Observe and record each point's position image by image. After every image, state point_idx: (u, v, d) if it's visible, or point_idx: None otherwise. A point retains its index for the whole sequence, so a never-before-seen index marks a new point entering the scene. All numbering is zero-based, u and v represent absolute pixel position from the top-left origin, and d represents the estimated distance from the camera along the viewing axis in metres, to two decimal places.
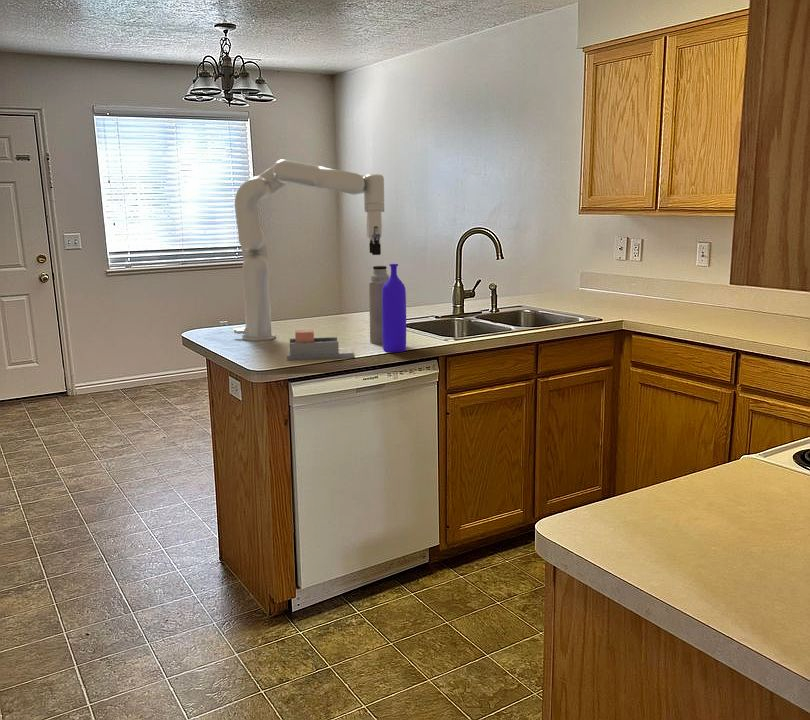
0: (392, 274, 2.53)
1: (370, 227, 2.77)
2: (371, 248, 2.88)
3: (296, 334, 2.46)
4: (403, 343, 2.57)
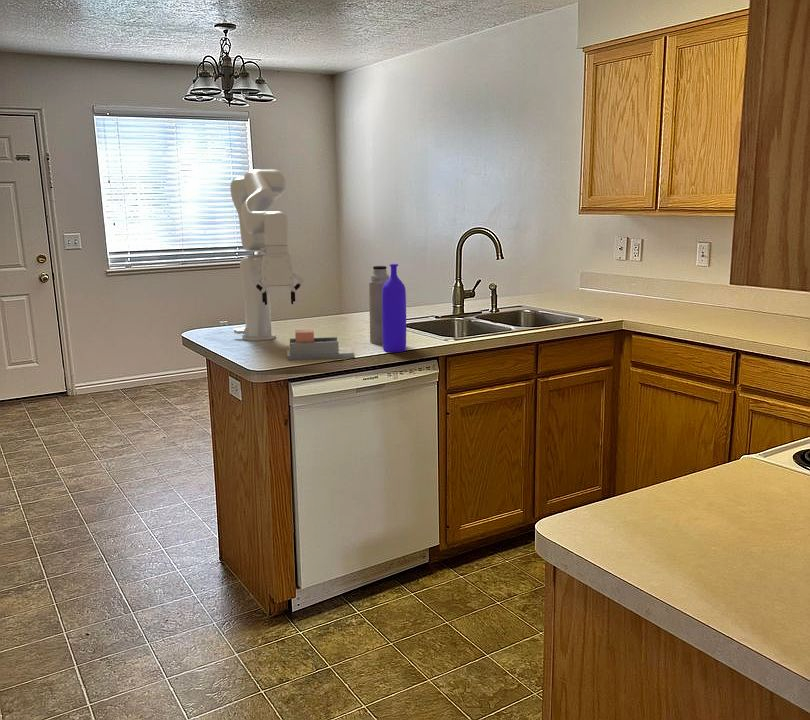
0: (392, 274, 2.53)
1: (292, 272, 2.42)
2: (266, 299, 2.44)
3: (296, 334, 2.46)
4: (403, 343, 2.57)
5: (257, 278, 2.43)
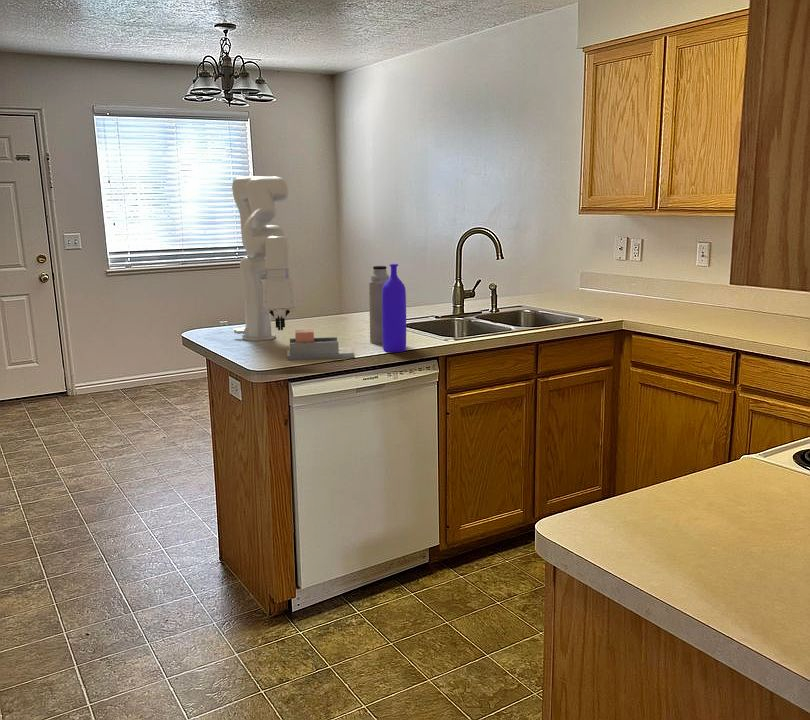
0: (392, 274, 2.53)
1: (293, 295, 2.44)
2: None
3: (296, 334, 2.46)
4: (403, 343, 2.57)
5: None
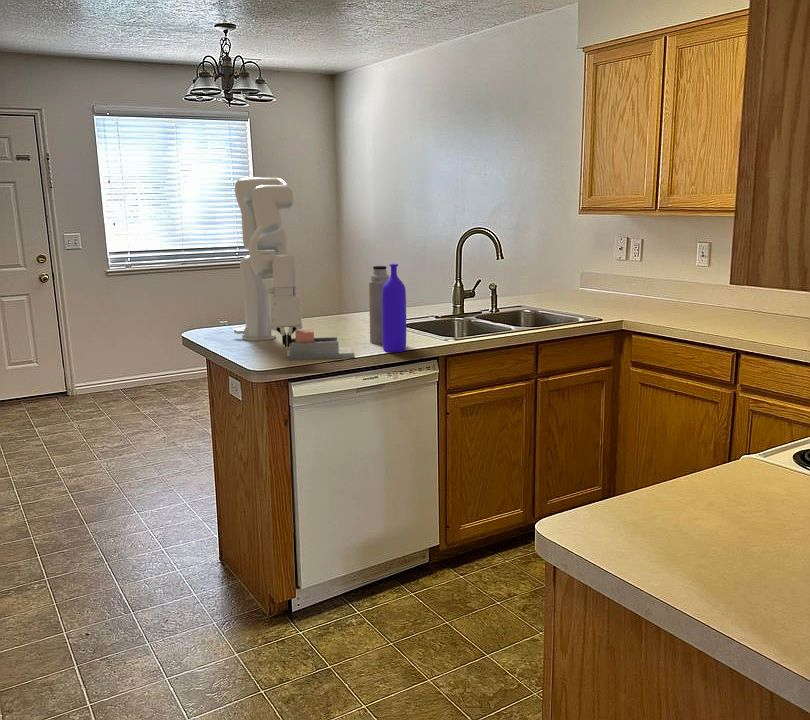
0: (392, 274, 2.53)
1: (300, 313, 2.45)
2: None
3: (296, 334, 2.46)
4: (403, 343, 2.57)
5: None
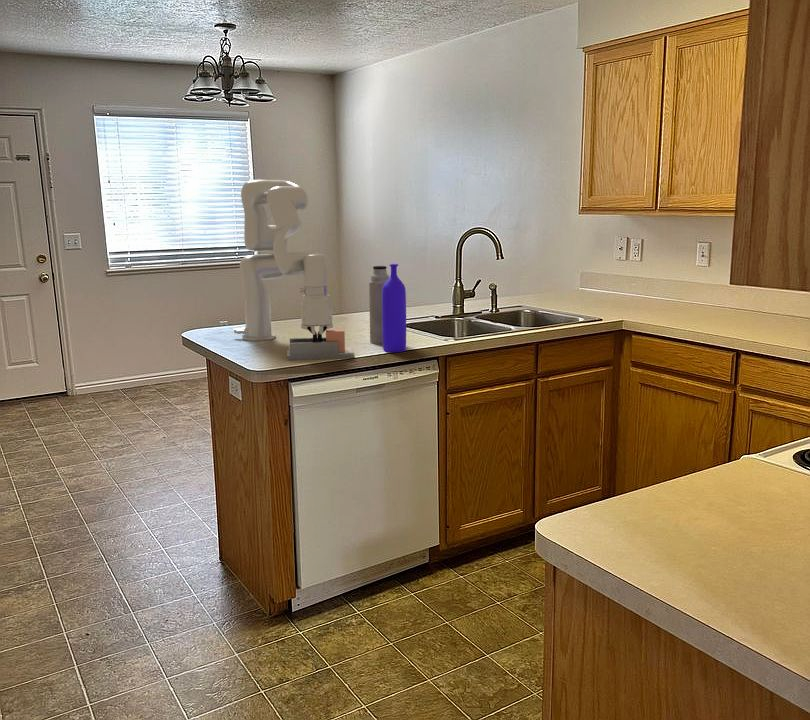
0: (392, 274, 2.53)
1: (331, 312, 2.47)
2: None
3: (327, 333, 2.47)
4: (403, 343, 2.57)
5: None
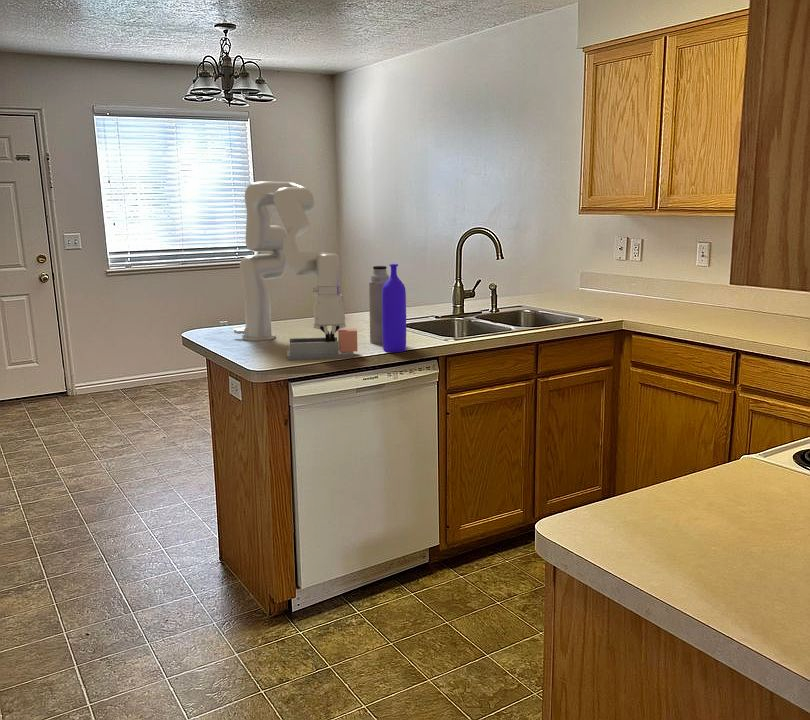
0: (392, 274, 2.53)
1: (344, 312, 2.47)
2: None
3: (340, 333, 2.48)
4: (403, 343, 2.57)
5: None
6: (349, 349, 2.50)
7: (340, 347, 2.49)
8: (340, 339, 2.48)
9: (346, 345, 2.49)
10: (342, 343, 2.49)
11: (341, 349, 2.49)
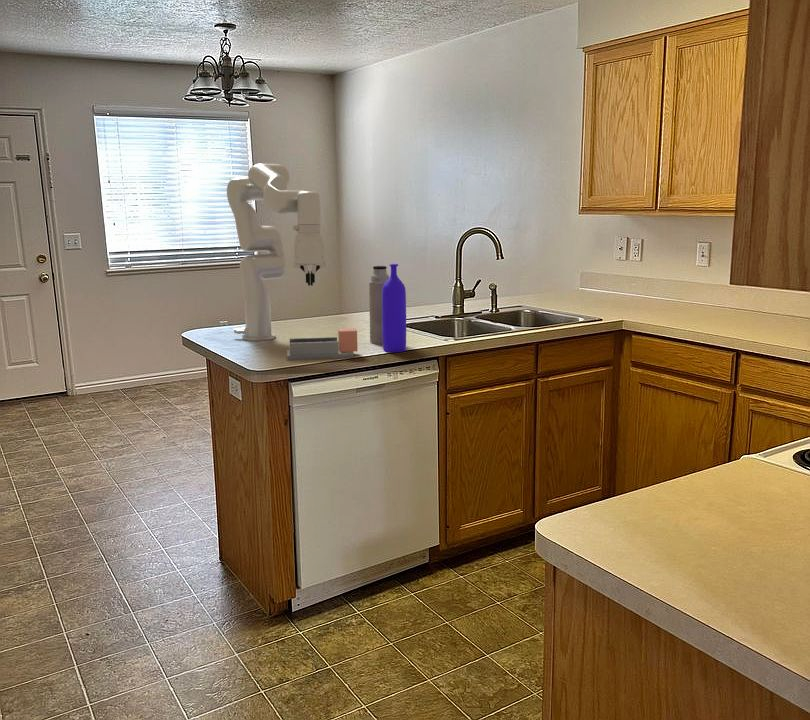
0: (392, 274, 2.53)
1: (324, 251, 2.46)
2: (310, 280, 2.48)
3: (340, 333, 2.48)
4: (403, 343, 2.57)
5: None
6: (349, 349, 2.50)
7: (340, 347, 2.49)
8: (340, 339, 2.48)
9: (346, 345, 2.49)
10: (342, 343, 2.49)
11: (341, 349, 2.49)
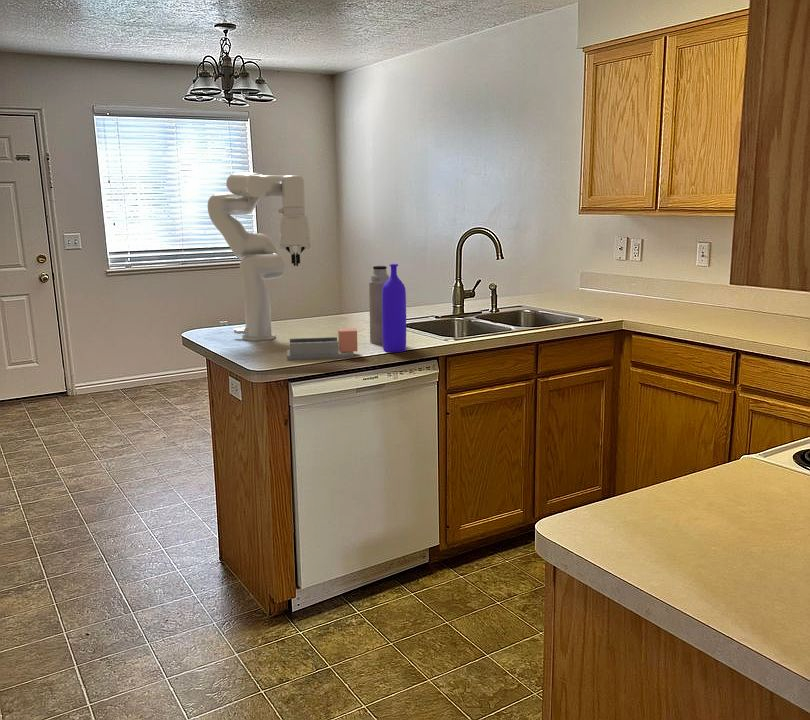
0: (392, 274, 2.53)
1: None
2: None
3: (340, 333, 2.48)
4: (403, 343, 2.57)
5: None
6: (349, 349, 2.50)
7: (340, 347, 2.49)
8: (340, 339, 2.48)
9: (346, 345, 2.49)
10: (342, 343, 2.49)
11: (341, 349, 2.49)
